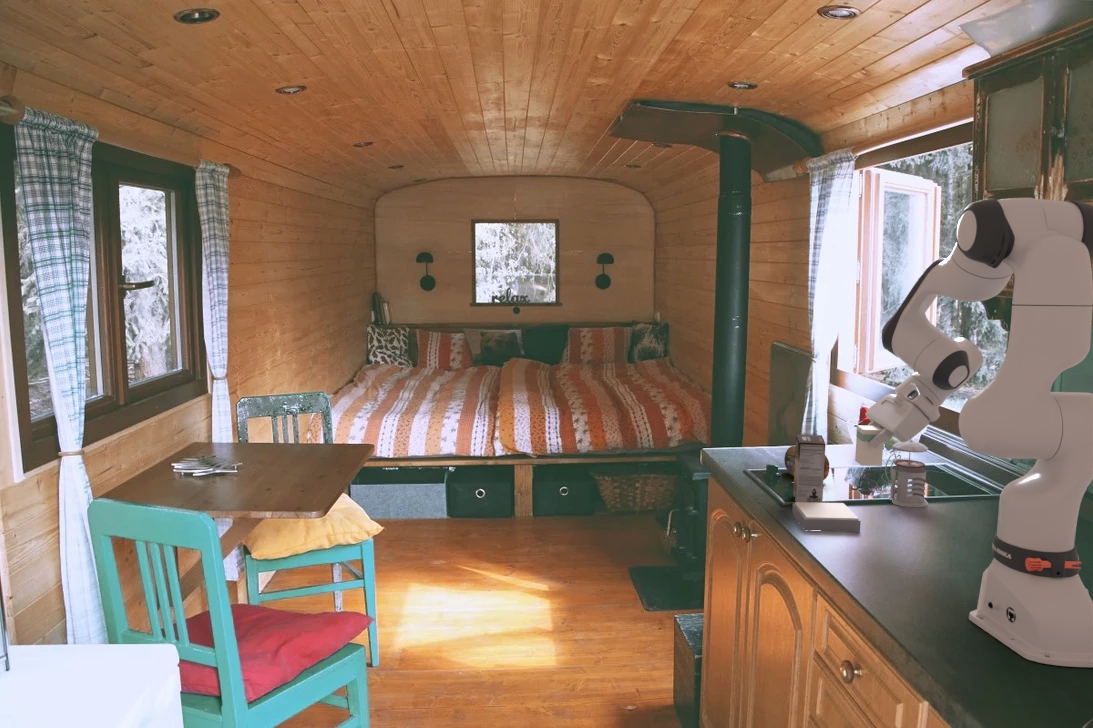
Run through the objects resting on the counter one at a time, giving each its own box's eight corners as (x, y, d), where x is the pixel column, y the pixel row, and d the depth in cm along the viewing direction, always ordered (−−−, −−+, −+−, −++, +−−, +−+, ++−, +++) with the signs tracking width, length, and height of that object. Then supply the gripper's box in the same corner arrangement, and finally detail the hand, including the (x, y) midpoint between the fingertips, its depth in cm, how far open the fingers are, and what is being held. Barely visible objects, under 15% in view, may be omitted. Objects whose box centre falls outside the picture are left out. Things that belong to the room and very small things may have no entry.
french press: (937, 504, 203) (944, 404, 200) (901, 509, 199) (907, 407, 196) (906, 493, 212) (913, 397, 209) (871, 498, 208) (876, 400, 205)
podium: (860, 532, 183) (860, 518, 183) (804, 530, 184) (805, 517, 183) (844, 515, 195) (844, 502, 195) (792, 513, 196) (792, 501, 195)
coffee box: (792, 495, 210) (795, 433, 208) (818, 497, 209) (821, 434, 207) (795, 506, 201) (798, 441, 199) (823, 508, 200) (826, 443, 198)
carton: (882, 465, 181) (884, 430, 180) (861, 465, 182) (863, 429, 180) (875, 460, 186) (877, 425, 185) (855, 460, 186) (857, 425, 185)
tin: (782, 472, 233) (784, 442, 232) (791, 471, 234) (793, 441, 233) (821, 486, 219) (823, 454, 218) (830, 484, 221) (832, 453, 219)
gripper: (889, 381, 191) (843, 422, 193) (922, 397, 171) (871, 442, 173) (907, 400, 191) (861, 441, 193) (943, 418, 171) (891, 464, 173)
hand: (866, 442), depth 183 cm, fingers closed on carton, 4 cm apart
